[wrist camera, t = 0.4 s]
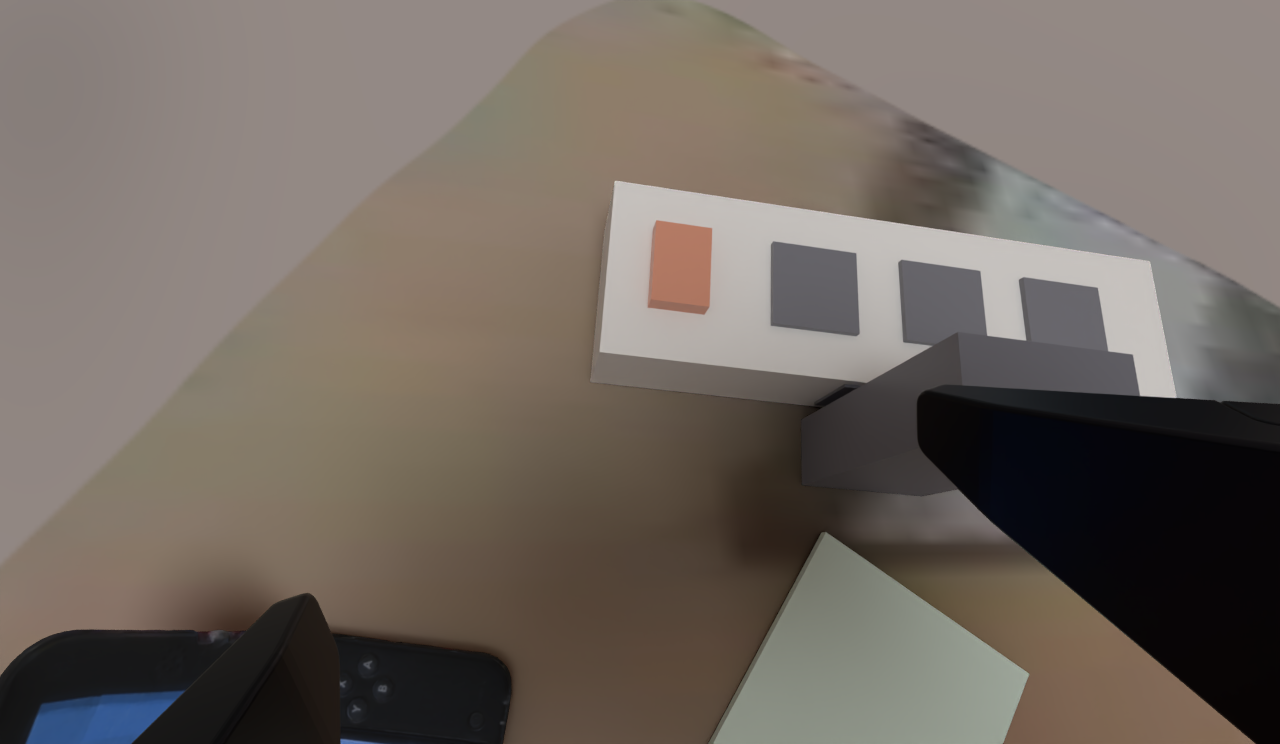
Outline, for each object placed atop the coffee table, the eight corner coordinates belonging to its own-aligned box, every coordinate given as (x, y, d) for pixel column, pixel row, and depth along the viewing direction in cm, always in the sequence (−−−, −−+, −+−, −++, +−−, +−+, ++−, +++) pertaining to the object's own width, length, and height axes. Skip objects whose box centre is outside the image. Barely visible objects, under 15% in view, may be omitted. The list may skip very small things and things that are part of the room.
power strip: (1079, 296, 30) (1165, 253, 26) (1101, 440, 28) (1199, 417, 24) (604, 230, 27) (617, 169, 23) (589, 384, 25) (601, 348, 21)
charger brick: (922, 499, 26) (1150, 457, 16) (801, 488, 25) (967, 438, 15) (917, 432, 26) (1133, 354, 17) (801, 419, 26) (957, 331, 16)
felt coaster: (1021, 672, 24) (1029, 673, 24) (924, 925, 21) (931, 931, 21) (821, 532, 24) (825, 532, 24) (698, 762, 21) (701, 765, 21)
